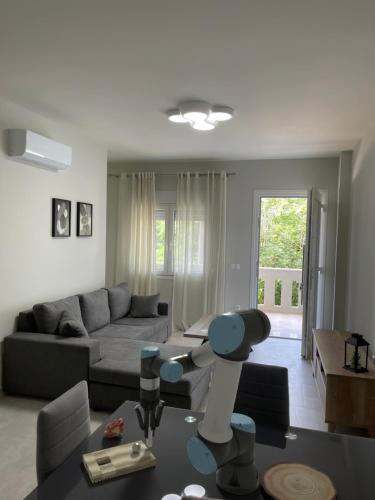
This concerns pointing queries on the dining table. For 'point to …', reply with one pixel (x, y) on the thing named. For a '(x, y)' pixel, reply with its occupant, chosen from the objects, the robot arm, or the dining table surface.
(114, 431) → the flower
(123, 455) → the wooden board with hole
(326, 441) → the dining table surface
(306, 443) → the dining table surface
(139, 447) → the ball
